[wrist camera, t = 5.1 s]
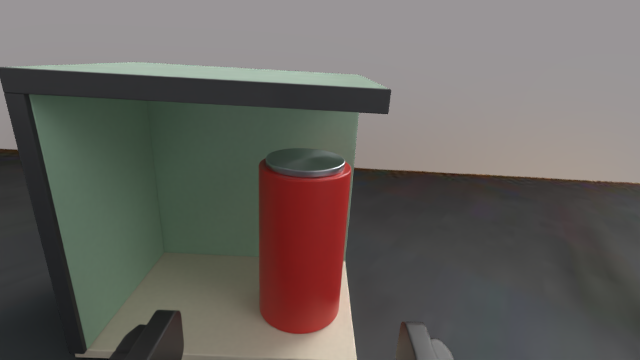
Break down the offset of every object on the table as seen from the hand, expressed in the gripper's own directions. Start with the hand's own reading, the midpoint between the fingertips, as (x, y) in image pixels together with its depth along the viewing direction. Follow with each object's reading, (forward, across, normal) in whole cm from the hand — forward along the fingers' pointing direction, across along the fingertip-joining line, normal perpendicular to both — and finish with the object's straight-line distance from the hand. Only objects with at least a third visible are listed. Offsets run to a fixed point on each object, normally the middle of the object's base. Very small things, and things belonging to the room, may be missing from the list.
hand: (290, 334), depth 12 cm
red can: (+9, 0, +6) cm, 11 cm away
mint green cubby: (+11, +4, +7) cm, 14 cm away
